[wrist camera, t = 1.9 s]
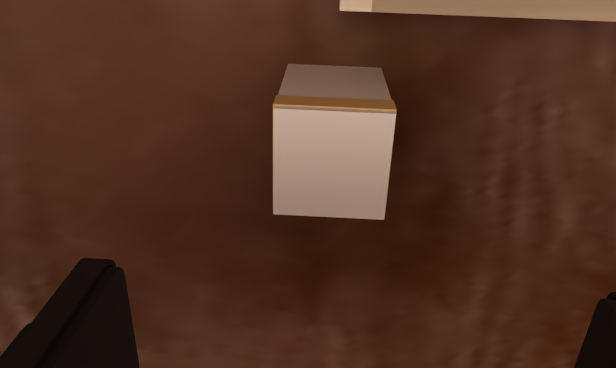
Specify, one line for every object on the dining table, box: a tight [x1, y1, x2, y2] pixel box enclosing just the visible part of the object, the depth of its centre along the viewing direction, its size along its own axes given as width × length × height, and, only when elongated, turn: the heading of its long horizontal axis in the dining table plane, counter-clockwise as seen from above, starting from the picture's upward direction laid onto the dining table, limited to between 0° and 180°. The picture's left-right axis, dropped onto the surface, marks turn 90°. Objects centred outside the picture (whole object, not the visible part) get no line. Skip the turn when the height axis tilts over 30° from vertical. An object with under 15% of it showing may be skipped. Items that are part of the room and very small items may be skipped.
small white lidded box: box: [273, 64, 397, 220], centre depth 21 cm, size 4×4×6 cm
